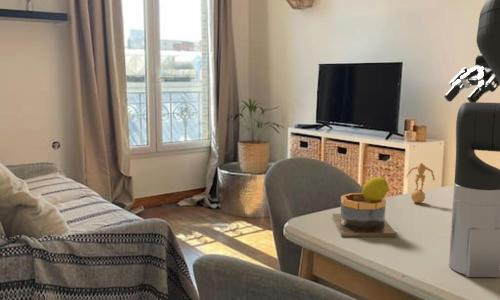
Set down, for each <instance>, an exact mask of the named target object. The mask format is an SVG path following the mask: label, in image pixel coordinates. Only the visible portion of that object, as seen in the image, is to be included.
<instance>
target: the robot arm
mask: <svg viewBox="0 0 500 300" xmlns="http://www.w3.org/2000/svg"><path fill="white" fill-rule="evenodd" d="M476 45H477V48H478V50H479V54H478V55H477V56H476V58H475V64H474V65H473V67H471V68H470V69H468V68H467V67H466V66H465V67H462V68H461V69H460V71H458V73H457V74H456V75H455V76H454V77H453V78H452V79H451V80H450V81H449V85H450V86H451V88H450V89H448V91H447V92H446V93H445V94H444V98H445V100H446V101H447V102H449V103H450V102H452V101H453V100H454V99H455V98H456V97H457V96H458V95H459V93H460V92H461V91H463V90H464V89H469V88H471V87H473V86H475V88H474V89H473V90H472V91H471V93H469V95H468V96H467V100H468V102H464V103H462V104H461V105H460V107H459V109H458V111H457V116H456V121H455V123H456V124H455V126H456V127H455V166H454V167H455V168H454V183H453V185H454V186H453V197H452V198H453V199H452V210H451V211H452V213H451V214H452V215H451V225H450V226H451V227H450V240H449V241H450V242H449V243H450V245H449V259H448V266H449V268H450V269H452V270H453V271H454V272H456V273H460V274H462V275H464V276H465V277H468V278H500V168H497V167H495V166H493V165H491V164H489V163H487V162H485V161H484V160H482V159H480V157H478V155H477V154H476V152H475V151H482V152H483V151H484V152H485V151H487V152H499V153H500V102H481V101H479V99H480V98H481V97H482V96H483V95H484V94H487V93H488V92H490V93H493V92H495V91H496V90H497V89H498V87H500V0H486V1H485V3H484V4H483V6H482V7H481V11H480V13H479V18H478V25H477V32H476ZM476 86H477V87H476ZM478 101H479V102H478Z"/></svg>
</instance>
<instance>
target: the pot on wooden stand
mask: <svg viewBox="0 0 500 300" xmlns="http://www.w3.org/2000/svg"><path fill="white" fill-rule="evenodd" d="M386 203H387V200H386V199H385V197H384V198H383V199H381V200H380V201H377V202H369V201H366V200H365V198H364V196H363V193H362V192H349V193H346V194H343V195H341V196H340V213H332V214H331V215H332V216H331V217H332V218H331V219H333V222H334V224H335V226H336V228H337V230H338V233H339V234H340V237H345V238H346V237H347V238H351V237H352V238H357V237H358V238H366V237H367V238H397V233H396V231H395V230H394V228H392V226H391V225H390V224H389V223H388V222H387V220H386V205H387V204H386Z"/></svg>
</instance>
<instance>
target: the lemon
mask: <svg viewBox="0 0 500 300" xmlns="http://www.w3.org/2000/svg"><path fill="white" fill-rule="evenodd" d="M361 191H362V192H361V193H363V196H364V198H365V200H366V201H369V202H377V201H380V200H381V199H383V198H384V199H385V197H386V195H387V194H388V191H389V184H388V182H387V180H386V179H385V178H383V177H380V176H374V177H372V178H370V179H369V180H367V181H366V182H365V183H364V185H363V187H362V189H361Z"/></svg>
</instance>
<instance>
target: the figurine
mask: <svg viewBox="0 0 500 300" xmlns="http://www.w3.org/2000/svg"><path fill="white" fill-rule="evenodd" d="M414 170H417V172H418V173H417V174H415V180H414V182H415V185H416V187H415V189H414V190H413V191H412V193H411V194H410V197H411V200H412V201H413V202H414V203H416V204H420V203H422V202H424V201H425V199H426V194H425V192H424V191H423V188H424V182H425V179H426V175H425V171H426V170H427V171H429V172H430V173H431V176H432V181H435V180H436V179H435V175H434V171H433V170H432V169H431V168H429V167H428V166H426V165H425V164H423V163H422V162H420V164H419V165H417V166H414V167H412V168H410V170H409V171H408V173H407V174H406V177H405V178H408V177H409V175H410V174H411V173H412V171H414ZM418 181H420V182H421V184H420V185H421V186H420V189H419V182H418Z"/></svg>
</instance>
